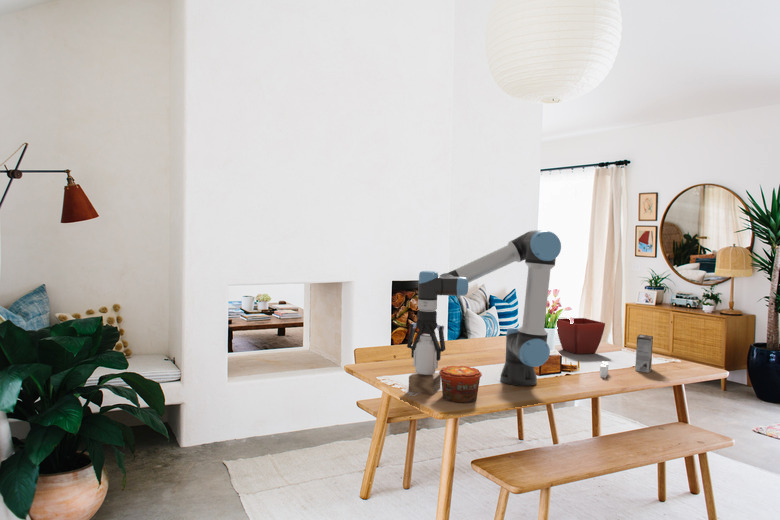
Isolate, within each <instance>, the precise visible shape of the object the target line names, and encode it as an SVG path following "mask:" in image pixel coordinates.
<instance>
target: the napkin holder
mask: <svg viewBox="0 0 780 520" xmlns="http://www.w3.org/2000/svg"><path fill="white" fill-rule="evenodd" d="M607 376H609V363H608V361H604V360H603V361H601V363H600V364H599V378H607Z"/></svg>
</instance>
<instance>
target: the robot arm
mask: <svg viewBox="0 0 780 520" xmlns="http://www.w3.org/2000/svg"><path fill="white" fill-rule="evenodd" d="M561 251H562V242H561V240H560V238H559V237H558V235H556V234H555V233H554V232H552V231H549V230H545V229H544V230H543V229H542V230H535V229H534V230H530V231H526V232H525V233H523V234H521V235H519V236H518V237H516V238H514V239H512V240H510V241H508V243H507V245H504V246H503V247H501V248H498V249H497V250H494V251H492V252H490V253H487V254H486V255H482V256H481V257H479V258H477V259H474V260H473V261H472V260H471V262H468V263H467V264H464V265H461V266H460V267H457V268H455V269H453V270H451V271H449V272H446V273H445V272H444V273H440V274H439V272H438V271H435V270H422V271H420V272H419V274H418V282H417V283H418V285H417V287H418V290H417V291H418V293H417V309H418V311H417V320H416V322H412V323H409V334H408V341H407V344H406V348H408V349H410V350H411V355H410V357H411V358H413V362H412V363H413V366H412V367H414V368H415V366H416V345H417V343H418V342H419V341H421V340H420V335H422V334H430V336H431V337H432V342H433V344H434V346H435V349H436V352H435V353H434V369H435V370H437V369H438V368H439V361H440V360H441V358H442V357H441V353H442V352H444V351H446V343H445V342H446V341H445V335H444V333H445V332H444V331H445V330H444V329H445V326H444V325H440V324H438V322H437V317H438V316H437V314H438V312H437V309H438V296H453V297H454V296H455V297H461V296H463V297H465V296H467V295H468V292H469V284H470V283H472V282H473V281H475V280H476V281H477V280H478V279H480V278H482V277H485V276H486V275H489V274H492V273H494V272H496V271H497V270H500V269H502V268H504V267H507V266H508V265H511V264H512V263H515V262H517V263H520V262H523V261H524V263H525V265H526V266H527V267H528V268H527V278H526V279H527V280H526V287H525V288H526V290H525V297H524V305H523V306H524V308H523V316H522V325H521V327H509V328H507V329H506V335H505V361H504V365H503V367H502V371H501V373H500V381H501V382H502V383H504V384H508V385H512V386H519V387H520V386H521V387H529V386H534V385H536V384H537V383H538V382H537V381H538V378H537V374H536V371H535V368H536V367H541V366H543V365H544V364H546V362H547V361H548V360H549V358H550V354H551V349H550V346H549V344H548V335H549V333H548V332H547V331H546V329H545V324H546V316H547V307H548V306H547V305H548V296H549V289H550V287H549V286H550V277H551V276H550V275H551V270H552V269H553V268H554V267H555V266H556V260H557V257H558V256H559V255H560V254H561ZM416 328H417V329H418V332H417V335H416V337H415V332H416ZM436 329H437V331H438V336H437V334H436V331H435V330H436ZM414 337H415V339H414ZM437 337H439V341H438V338H437ZM413 341H414V342H413Z"/></svg>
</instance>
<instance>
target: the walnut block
mask: <svg viewBox="0 0 780 520" xmlns="http://www.w3.org/2000/svg"><path fill="white" fill-rule="evenodd" d="M441 385H442V382H441V374H440V373H439V372H435V373H434V374H431V375H423V374H418V373H416V371H414V372H413V373H412V374H410V375H409V376H408V392H411V393H417V394H425V395H430V396H431V395H434V394H435V393H437V392H438V391H439V390H440V389H441Z"/></svg>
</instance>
